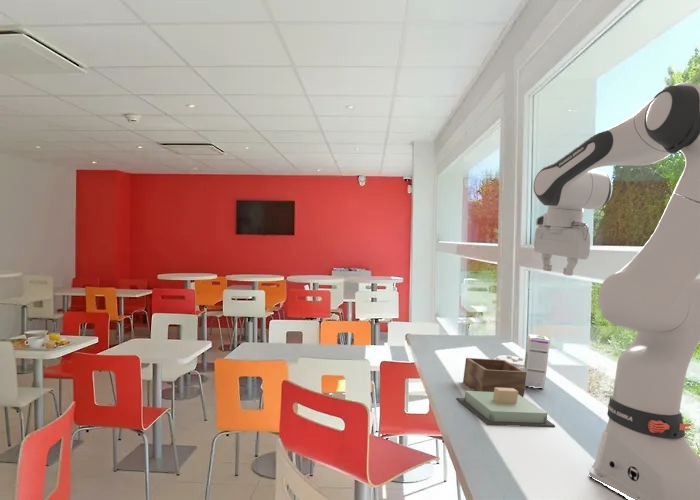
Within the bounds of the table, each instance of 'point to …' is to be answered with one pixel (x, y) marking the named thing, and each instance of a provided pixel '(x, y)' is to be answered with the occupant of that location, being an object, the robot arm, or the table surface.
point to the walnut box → (493, 375)
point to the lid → (512, 360)
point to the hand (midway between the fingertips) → (556, 273)
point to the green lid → (505, 406)
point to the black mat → (488, 422)
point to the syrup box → (536, 360)
